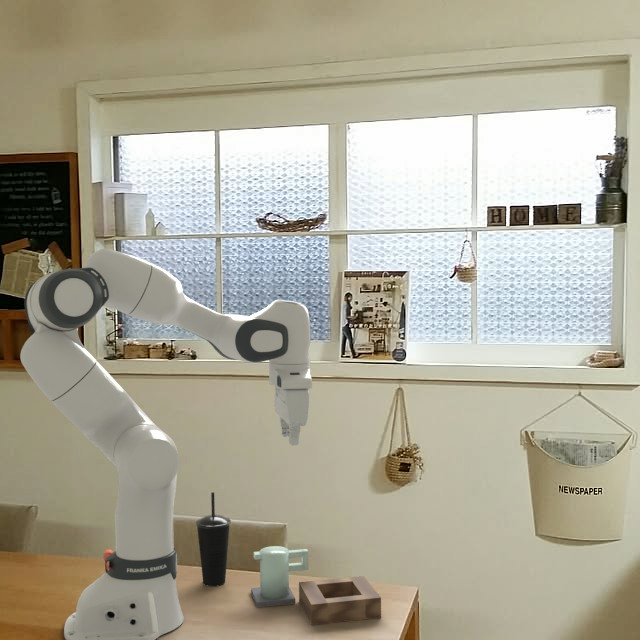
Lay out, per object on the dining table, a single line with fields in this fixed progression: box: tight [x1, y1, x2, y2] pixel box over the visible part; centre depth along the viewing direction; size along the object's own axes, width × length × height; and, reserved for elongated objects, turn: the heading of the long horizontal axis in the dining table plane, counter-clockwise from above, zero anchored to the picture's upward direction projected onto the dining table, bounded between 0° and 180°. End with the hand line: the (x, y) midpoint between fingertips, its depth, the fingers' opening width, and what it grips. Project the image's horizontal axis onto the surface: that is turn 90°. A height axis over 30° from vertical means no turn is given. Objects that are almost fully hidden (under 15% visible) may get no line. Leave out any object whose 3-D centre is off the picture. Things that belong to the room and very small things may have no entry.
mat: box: [250, 586, 296, 608], centre depth 173 cm, size 8×8×1 cm
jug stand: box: [298, 575, 382, 626], centre depth 167 cm, size 14×12×4 cm
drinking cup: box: [195, 492, 232, 587], centre depth 182 cm, size 8×8×20 cm
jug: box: [253, 545, 309, 599], centre depth 173 cm, size 11×6×9 cm, turn 102°
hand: (289, 440), depth 177 cm, fingers open, 8 cm apart
